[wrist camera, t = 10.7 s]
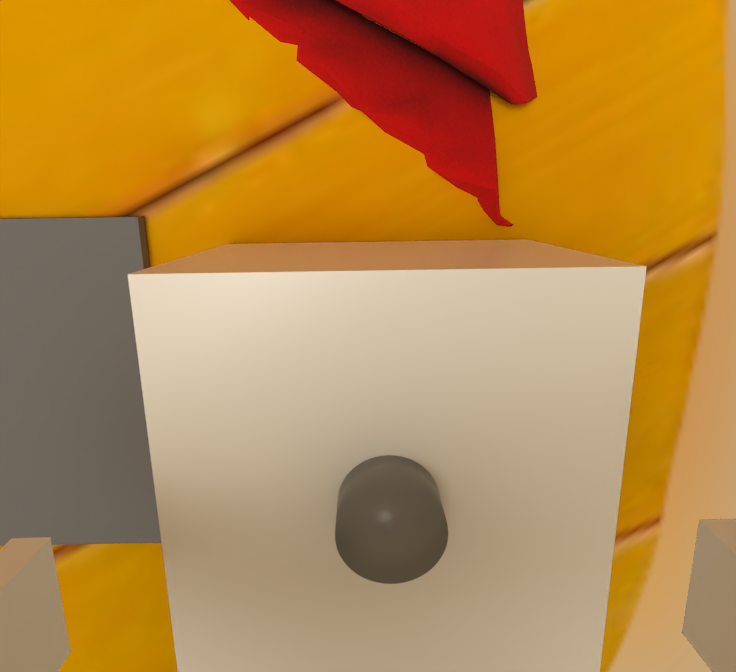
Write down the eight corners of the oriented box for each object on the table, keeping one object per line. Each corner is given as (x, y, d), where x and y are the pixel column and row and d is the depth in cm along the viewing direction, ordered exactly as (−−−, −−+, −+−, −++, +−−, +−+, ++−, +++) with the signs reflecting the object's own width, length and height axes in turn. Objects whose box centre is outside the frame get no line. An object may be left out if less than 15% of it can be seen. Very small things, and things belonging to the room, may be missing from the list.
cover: (511, 506, 24) (621, 732, 14) (248, 510, 24) (161, 741, 14) (527, 239, 21) (682, 274, 11) (226, 243, 21) (96, 283, 11)
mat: (180, 534, 24) (176, 542, 23) (-109, 539, 24) (-121, 547, 23) (143, 216, 20) (137, 216, 20) (-195, 221, 20) (-211, 222, 20)
